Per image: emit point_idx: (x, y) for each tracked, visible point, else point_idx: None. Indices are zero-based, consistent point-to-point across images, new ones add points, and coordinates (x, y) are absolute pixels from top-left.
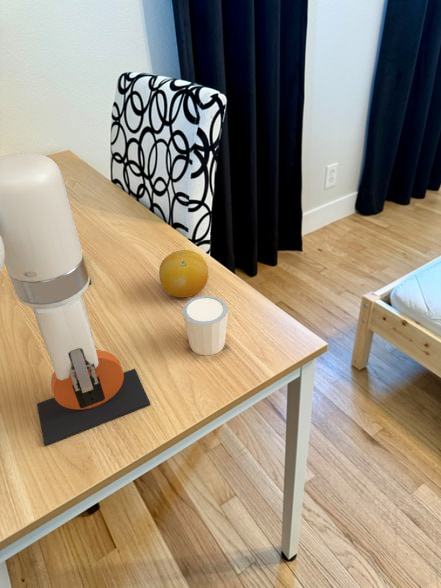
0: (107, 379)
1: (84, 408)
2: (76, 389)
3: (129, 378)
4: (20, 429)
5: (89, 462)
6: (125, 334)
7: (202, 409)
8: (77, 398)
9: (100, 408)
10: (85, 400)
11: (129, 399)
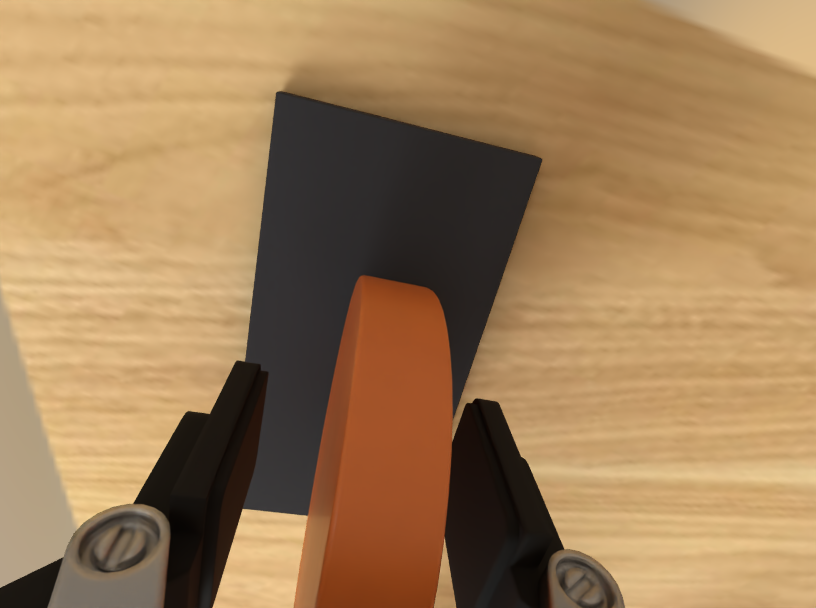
0: (308, 533)
1: (344, 327)
2: (67, 548)
3: None
4: (466, 22)
5: (86, 223)
6: (598, 549)
7: None
8: (212, 413)
9: (315, 370)
10: (172, 440)
11: (286, 465)
